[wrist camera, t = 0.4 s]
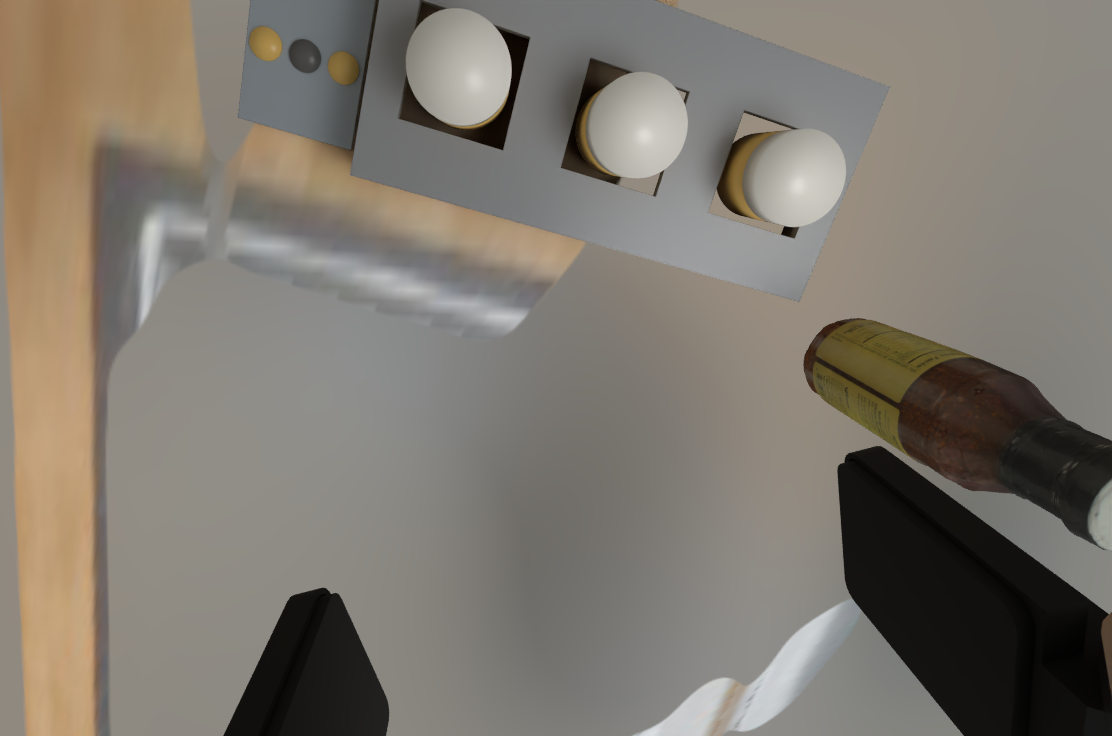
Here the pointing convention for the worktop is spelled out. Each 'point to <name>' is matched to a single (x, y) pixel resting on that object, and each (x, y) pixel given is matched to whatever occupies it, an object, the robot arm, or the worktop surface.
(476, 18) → the button
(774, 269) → the button board
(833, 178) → the button
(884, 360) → the sauce bottle
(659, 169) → the button middle
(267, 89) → the card
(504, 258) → the worktop surface
